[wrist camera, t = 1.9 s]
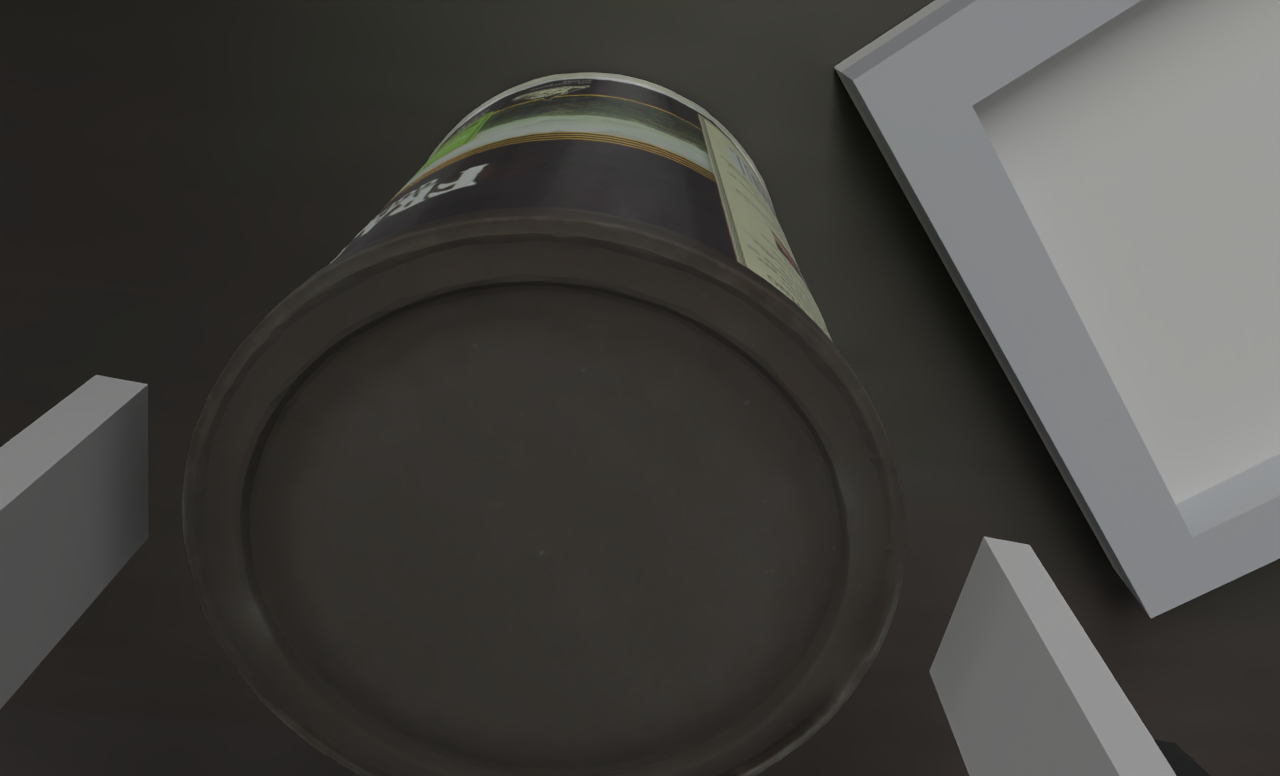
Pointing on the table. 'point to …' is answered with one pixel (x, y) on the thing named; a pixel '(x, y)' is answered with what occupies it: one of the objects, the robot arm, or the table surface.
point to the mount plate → (1112, 250)
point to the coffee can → (551, 465)
